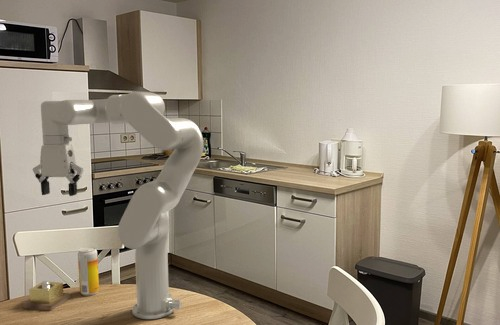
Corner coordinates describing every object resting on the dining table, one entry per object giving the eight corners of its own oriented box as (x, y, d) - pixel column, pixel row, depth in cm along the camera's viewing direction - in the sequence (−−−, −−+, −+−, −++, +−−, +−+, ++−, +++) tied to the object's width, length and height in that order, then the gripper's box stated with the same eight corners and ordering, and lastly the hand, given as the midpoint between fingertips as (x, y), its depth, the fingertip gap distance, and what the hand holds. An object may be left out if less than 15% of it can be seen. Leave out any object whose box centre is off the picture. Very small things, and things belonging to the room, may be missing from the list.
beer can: (102, 289, 161) (99, 246, 159) (94, 296, 155) (92, 252, 153) (85, 289, 162) (82, 246, 160) (76, 296, 156) (74, 251, 154)
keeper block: (70, 297, 155) (69, 276, 154) (51, 310, 145) (49, 288, 144) (43, 295, 157) (42, 274, 156) (22, 307, 147) (21, 286, 146)
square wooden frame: (63, 294, 153) (62, 282, 153) (49, 303, 146) (48, 291, 146) (44, 293, 155) (43, 281, 154) (30, 301, 148) (29, 289, 147)
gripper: (87, 140, 149) (90, 193, 151) (39, 139, 153) (43, 191, 155) (73, 141, 142) (77, 197, 144) (23, 141, 146) (27, 196, 148)
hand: (59, 194), depth 150 cm, fingers open, 9 cm apart
